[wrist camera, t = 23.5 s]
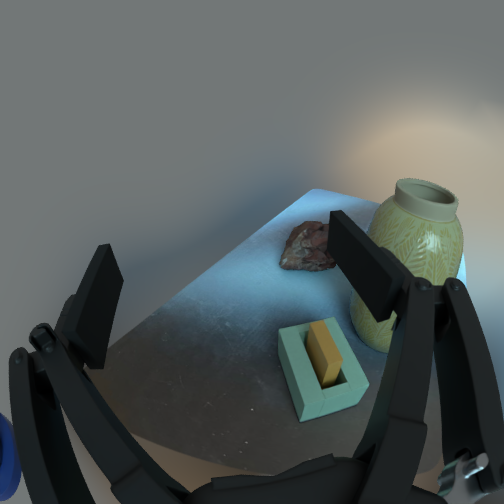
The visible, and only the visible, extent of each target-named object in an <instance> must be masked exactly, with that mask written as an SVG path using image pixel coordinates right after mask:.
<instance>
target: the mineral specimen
mask: <svg viewBox="0 0 504 504" xmlns="http://www.w3.org/2000/svg"><path fill="white" fill-rule="evenodd" d="M328 231H329V224H322V223H321V222H318V221H305V222H304V223H302V224H301V225H299V226H297V227H295V228H294V229H293V231H292V232H291V235H290V236H289V239H288V240H287V241H286V246H285V250H284V252H283V254H282V255H281V261H280V265H281V268H283V269H286V270H289V269H293V270H294V269H295V270H301V269H304V270H308V271H320V270H325V269H328V268H334V267H335V266H336V262H335V261H334V259H333V258H332V257H331V255H330V254H329V253H328V251H327V250H326V249H327V240H328Z"/></svg>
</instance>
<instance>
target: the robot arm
mask: <svg viewBox="0 0 504 504" xmlns="http://www.w3.org/2000/svg"><path fill="white" fill-rule="evenodd" d="M326 250H327V251H328V253H329V254H330V255H331V257H332V258H333V259H334V261H335V262H336V264H337V265H338V266H339V268H340V269H341V270H342V272H343V273H344V275H345V276H346V278H347V279H348V280H349V282H350V283H351V285H352V286H353V288H354V289H355V290H356V292H357V293H358V295H359V296H360V298H361V299H362V301H363V302H364V304H365V305H366V307H367V308H368V310H369V311H370V313H371V314H372V316H373V317H374V319H375V320H376V322H377V323H379V322H382V321H385V320H388V319H390V317H391V314H392V312H393V311H394V312H395V313H396V315H397V317H396V319H395V321H394V324H393V326H392V328H391V330H390V331H393V333H392V338H391V343H390V348H389V352H388V357H387V361H386V365H385V369H384V373H383V377H382V380H381V384H380V388H379V391H378V394H377V398H376V401H375V404H374V407H373V410H372V413H371V416H370V419H369V422H368V425H367V428H366V431H365V433H364V436H363V438H362V440H361V442H360V443H359V445H358V447H357V449H356V450H355V453H354V455H353V457H352V458H348V457H333V454H332V453H331V454H328V455H325V456H322V457H319V458H315V459H312V460H308V461H305V462H302V463H301V464H299V465H297V466H295V467H293V468H291V469H289V470H287V471H285V472H282V473H280V474H278V475H275V476H254V475H236V476H226V477H216V478H211V482H210V483H207V484H205V485H203V486H201V487H199V488H198V489H196V490H194V491H193V492H192V493H190V492H189V491H188V490H187V489H186V488H185V487H183V486H182V485H181V484H180V483H178V482H177V481H175V480H174V479H173V478H171V477H170V476H169V475H168V474H167V473H166V472H165V471H164V470H163V469H162V468H161V467H160V466H159V465H158V464H157V463H156V462H155V461H154V460H153V459H152V458H151V457H150V456H149V455H148V454H147V452H146V451H145V450H144V449H143V448H142V447H141V446H140V445H139V444H138V442H137V441H136V440H135V439H134V438H133V437H132V435H131V434H130V433H129V432H128V431H127V429H126V428H125V427H124V426H123V424H122V423H121V422H120V421H119V419H118V418H117V417H116V415H115V414H114V413H113V411H112V410H111V409H110V407H109V406H108V404H107V403H106V402H105V400H104V399H103V397H102V396H101V395H100V393H99V392H98V390H97V389H96V387H95V386H94V384H93V383H92V381H91V379H90V378H89V376H88V375H87V373H86V372H85V371H84V369H83V367H84V362H85V363H86V365H87V366H88V367H89V368H90V369H104V363H105V358H106V352H107V347H108V342H109V338H110V333H111V329H112V324H113V320H114V315H115V312H116V307H117V303H118V300H119V296H120V292H121V289H122V285H123V282H124V280H123V277H122V275H121V272H120V270H119V267H118V265H117V262H116V259H115V257H114V254H113V251H112V248H111V246H110V244H104V245H99V246H98V248H97V250H96V252H95V254H94V256H93V258H92V260H91V262H90V264H89V266H88V268H87V270H86V272H85V275H84V277H83V279H82V281H81V283H80V286H79V288H78V290H77V292H76V294H74V295H71V296H70V297H69V298H68V300H67V301H66V302H65V304H64V307H63V309H62V310H63V311H61V314H60V317H59V319H58V321H57V324H56V327H55V329H54V331H53V329H52V328H51V326H50V325H49V324H47V323H41V324H39V325H37V326H36V327H35V328H34V329H33V330H32V331H31V333H30V336H29V342H30V343H31V344H32V345H33V347H34V348H35V349H36V351H35V352H32V353H28V352H27V350H26V349H25V348H23V347H20V348H17V349H16V350H14V351H13V352H12V354H11V356H10V358H9V389H10V390H9V391H10V404H11V414H12V421H13V429H14V436H15V441H16V447H17V451H18V456H19V460H20V465H21V468H22V472H23V476H24V479H25V483H26V486H27V489H28V492H29V495H30V498H31V501H32V504H96V503H95V501H94V499H93V497H92V495H91V493H90V491H89V489H88V487H87V484H86V482H85V479H84V477H83V475H82V472H81V470H80V467H79V465H78V462H77V459H76V457H75V454H74V451H73V448H72V445H71V442H70V439H69V435H68V432H67V429H66V425H65V422H64V418H63V414H62V410H61V406H62V408H63V409H64V411H65V413H66V415H67V417H68V419H69V421H70V423H71V424H72V426H73V428H74V430H75V431H76V433H77V435H78V436H79V438H80V440H81V441H82V443H83V444H84V446H85V448H86V449H87V450H88V452H89V454H90V455H91V457H92V458H93V459H94V461H95V462H96V464H97V465H98V467H99V468H100V469H101V471H102V472H103V473H104V475H105V476H106V477H107V479H108V480H109V481H110V483H111V488H110V489H111V491H112V493H113V494H114V496H115V497H116V499H117V500H118V501H119V502H120V503H121V504H474V503H475V502H477V501H478V500H479V499H481V498H482V497H483V496H485V495H487V494H490V493H493V492H495V491H498V490H500V489H503V488H504V421H503V413H502V407H501V401H500V395H499V390H498V385H497V381H496V376H495V372H494V368H493V364H492V360H491V357H490V353H489V350H488V346H487V343H486V340H485V337H484V334H483V331H482V328H481V325H480V322H479V319H478V317H477V314H476V311H475V309H474V306H473V304H472V301H471V299H470V296H469V294H468V291H467V289H466V287H465V285H464V284H463V283H462V282H461V281H460V280H459V279H457V278H453V277H448V278H446V280H445V282H444V284H443V285H433V284H432V283H431V282H430V281H429V280H427V279H425V278H423V277H415V276H414V275H413V274H412V273H411V272H410V271H409V270H408V268H407V267H406V266H405V265H404V264H403V263H402V262H401V261H400V260H399V259H398V258H396V256H395V255H394V254H393V253H392V252H391V251H390V250H388V249H386V248H385V247H378V246H377V245H376V244H375V243H374V242H373V241H372V240H371V239H370V238H369V237H368V236H367V235H366V234H365V233H364V232H363V231H362V230H361V229H360V228H359V227H358V226H357V225H356V224H355V223H354V222H353V221H352V220H351V219H350V218H349V217H348V216H347V215H346V214H345V213H344V212H343V211H342V210H339V211H330V220H329V231H328V240H327V249H326ZM433 351H434V357H435V363H436V370H437V377H438V385H439V394H440V405H441V421H442V449H443V459H444V465H445V467H444V469H443V471H442V473H441V474H440V475H439V477H438V480H437V481H438V484H439V485H440V489H439V491H438V493H437V494H434V493H432V492H429V491H426V490H424V489H422V488H419V487H416V486H414V485H412V484H413V481H414V478H415V475H416V472H417V469H418V465H419V462H420V459H421V455H422V451H423V448H424V444H425V439H426V435H427V424H425V423H424V421H423V419H424V413H425V408H426V402H427V396H428V390H429V383H430V375H431V366H432V356H433ZM60 404H61V406H60ZM1 464H2V443H1V439H0V468H1Z"/></svg>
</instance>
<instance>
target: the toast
mask: <svg viewBox="0 0 504 504" xmlns="http://www.w3.org/2000/svg"><path fill="white" fill-rule="evenodd" d="M306 352H307V354H308V357H309V359H310V362H311V364H312V367H313V370H314V372H315V375H316V377H317V380H318V382H319V385H320V387H321V390H323V389H327V388H330V387H333V385H334V383H335V380H336V378H337V375H338V373H339V370H340V368H341V365H342V362H343V358H342V356H341V354H340V352H339V350H338V348H337V346H336V344H335V342H334V340H333V338H332V336H331V334H330V332H329V330H328V328H327V326H326V324H325V322H324V320H321V321H317V322H313V323H310V326H309V333H308V339H307V345H306Z"/></svg>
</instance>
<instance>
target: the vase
mask: <svg viewBox="0 0 504 504" xmlns="http://www.w3.org/2000/svg"><path fill="white" fill-rule="evenodd" d="M457 207H458V199H457V197H456V196H455V195H454V194H453V193H452V192H450V191H449V190H447V189H445V188H443V187H441V186H439V185H436V184H434V183H431V182H428V181H424V180H419V179H411V178H407V179H400V180H398V181H397V183H396V189H395V195H393V196H391V197H389V198H388V199H387V200H385V201H384V202H383V203H382V204H381V205H380V207H379V208H378V209H377V210H376V212H375V214H374V216H373V218H372V220H371V223H370V225H369V228H368V231H367V234H366V235H367V236H368V237H369V238H370V239H371V240H372V241H373V242H374V243H375V244H376V245H377V246H378V247H385V248H386V249H388V250H390V251H391V252H392V253H393V254H394V255H395V256H396V258H398V259H399V260H400V261H401V262H402V263H403V264H404V265H405V266H406V267H407V268H408V270H409V271H410V272H411V273H412V274H413V275H414V276H415V277H423V278H425V279H427V280H429V281H430V282H431V283H432V284H433V285H443V284H444V282H445V280H446V278H448V277H453V278H456V277H457V274H458V271H459V267H460V263H461V258H462V252H463V232H462V228H461V225H460V222H459V220H458V218H457V216H456V214H455V213H456V210H457ZM349 305H350V316H351V321H352V324H353V326H354V328H355V331H356V333H357V335H358V336H359V338H360V339H361V340H362V341H363V342H364V343H365V344H366V345H368V346H369V347H371V348H372V349H374V350H377V351H380V352H383V353H388V352H389V348H390V343H391V338H392V333H393V331H390V330H391V328H392V326H393V324H394V321H395V319H396V317H397V315H396V313H395V312H394V311H393V312H392V314H391V317H390V319H388V320H385V321H382V322H379V323H377V322H376V320H375V319H374V317H373V316H372V314H371V313H370V311H369V310H368V308H367V307H366V305H365V304H364V302H363V301H362V299H361V298H360V296H359V295H358V293H357V292H356V290H355V289H354V288H353V286H352V292H351V297H350V304H349Z"/></svg>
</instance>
